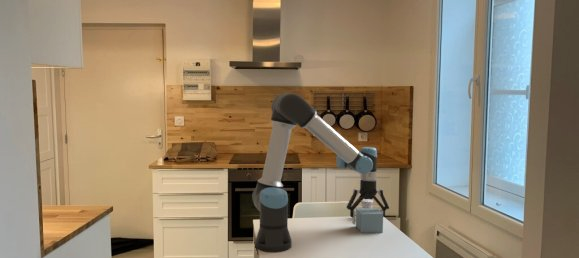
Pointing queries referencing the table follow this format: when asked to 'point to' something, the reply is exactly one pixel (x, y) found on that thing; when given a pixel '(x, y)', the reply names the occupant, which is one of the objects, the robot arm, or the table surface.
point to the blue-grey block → (369, 220)
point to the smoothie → (367, 203)
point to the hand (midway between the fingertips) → (367, 223)
